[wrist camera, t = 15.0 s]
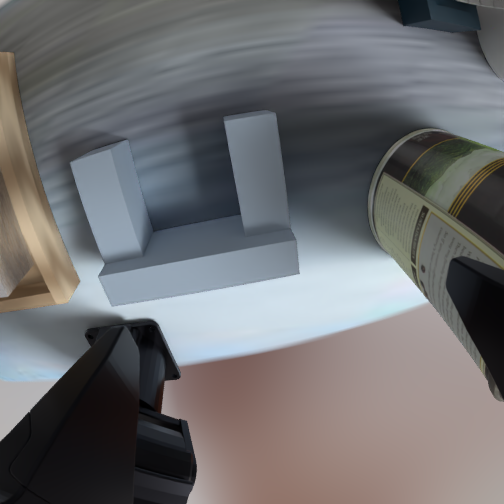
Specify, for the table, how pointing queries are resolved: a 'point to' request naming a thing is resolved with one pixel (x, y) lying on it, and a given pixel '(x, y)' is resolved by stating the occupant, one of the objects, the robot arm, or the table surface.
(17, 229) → the steel block
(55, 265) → the oak tray
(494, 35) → the cup
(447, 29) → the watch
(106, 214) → the bracket
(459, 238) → the coffee can
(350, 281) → the table surface
